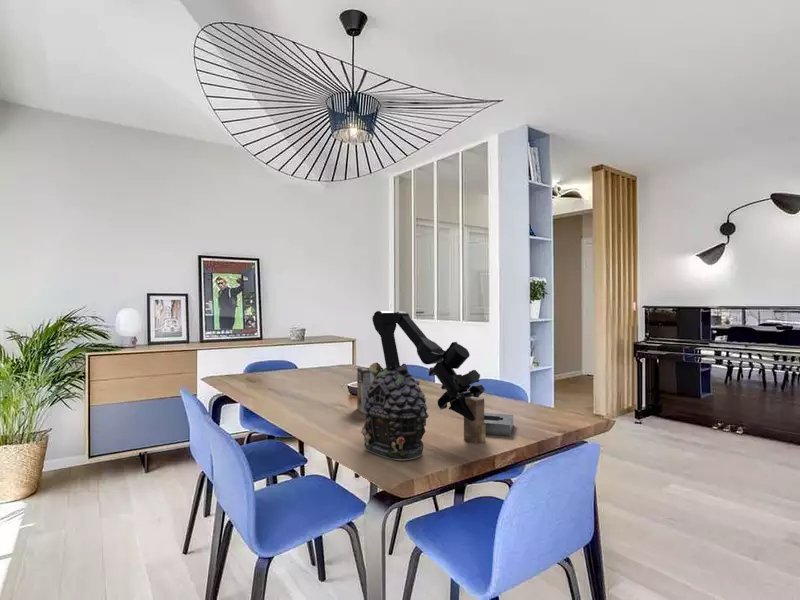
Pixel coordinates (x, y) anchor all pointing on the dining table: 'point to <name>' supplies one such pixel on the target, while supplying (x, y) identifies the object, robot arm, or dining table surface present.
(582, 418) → the dining table surface
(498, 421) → the hub block
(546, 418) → the dining table surface
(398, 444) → the decorative house
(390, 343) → the robot arm
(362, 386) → the coffee box
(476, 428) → the keyed plug
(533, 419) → the dining table surface
